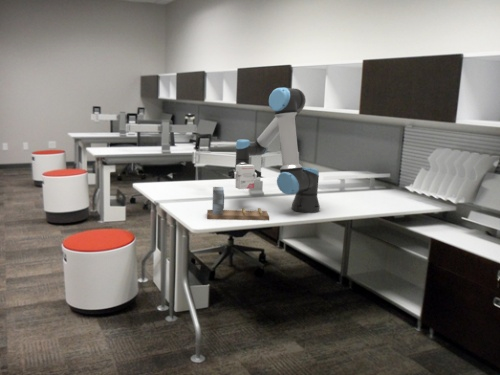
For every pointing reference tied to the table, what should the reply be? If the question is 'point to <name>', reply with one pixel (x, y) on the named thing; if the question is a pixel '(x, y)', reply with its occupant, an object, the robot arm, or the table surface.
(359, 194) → the table surface
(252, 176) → the ink box
